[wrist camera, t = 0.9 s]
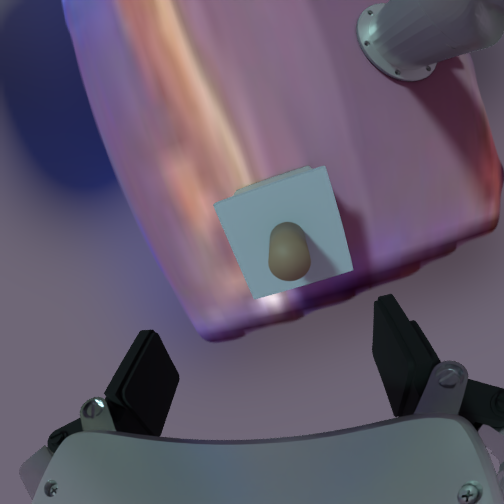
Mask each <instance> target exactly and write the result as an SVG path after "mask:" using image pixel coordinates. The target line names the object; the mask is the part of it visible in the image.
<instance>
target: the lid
mask: <svg viewBox="0 0 504 504" xmlns="http://www.w3.org/2000/svg"><path fill="white" fill-rule="evenodd" d="M213 206H214V208H215V210H216V213H217V215H218V217H219V220H220V222H221V224H222V227H223V229H224V231H225V234H226V236H227V238H228V241H229V243H230V245H231V248H232V250H233V252H234V255H235V257H236V259H237V262H238V264H239V266H240V268H241V271H242V273H243V275H244V278H245V280H246V282H247V284H248V287H249V289H250V291H251V293H252V296H253V298H254V299H258V298H261V297H265V296H269V295H272V294H276V293H279V292H283V291H286V290H290V289H293V288H297V287H300V286H304V285H307V284H310V283H314V282H317V281H320V280H324V279H327V278H330V277H333V276H337V275H340V274H343V273H346V272H349V271H352V270H353V266H352V262H351V257H350V253H349V249H348V245H347V241H346V237H345V233H344V229H343V225H342V222H341V218H340V214H339V211H338V207H337V204H336V200H335V197H334V193H333V190H332V187H331V183H330V180H329V177H328V174H327V170H326V167H325V166H321V167H318V168H315V169H312V170H308V171H305V172H302V173H299V174H296V175H293V176H290V177H287V178H284V179H281V180H278V181H275V182H272V183H269V184H266V185H263V186H260V187H257V188H254V189H252V190H249V191H246V192H243V193H240V194H238V195H235V196H232V197H229V198H227V199H224V200H221V201H219V202H216V203H215V204H214V205H213Z"/></svg>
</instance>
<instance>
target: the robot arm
mask: <svg viewBox="0 0 504 504" xmlns="http://www.w3.org/2000/svg"><path fill="white" fill-rule="evenodd" d="M503 32H504V0H390V1H389V2H388V3H387V4H386V3H381V4H375V5H372V6H370V7H368V8H367V9H366V10H364V11H363V13H362V14H361V15H360V17H359V19H358V22H357V26H356V34H357V38H358V42H359V44H360V47H361V49H362V50H363V52H364V54H365V55H366V57H367V58H368V59H369V60H370V62H371V63H372V64H374V65H375V66H376V67H377V68H378V69H379V70H381V71H382V72H383V73H385V74H387V75H389V76H390V77H392V78H395V79H398V80H402V81H418V80H421V79H424V78H426V77H428V76H429V75H430V74H431V73H432V72H433V71H434V69H435V67H436V65H437V62H440V61H443V60H446V59H449V58H453V57H456V56H459V55H463V54H466V53H470V52H473V51H477V50H481V49H484V48H488V47H490V46H493V45H494V44H496V43H497V42H498V41H499V40H500V38H501V37H502V35H503ZM365 44H366V45H367V46H365ZM395 72H396V73H397V75H396V74H395ZM372 352H373V357H374V360H375V362H376V365H377V367H378V370H379V373H380V376H381V378H382V381H383V384H384V387H385V390H386V393H387V396H388V399H389V402H390V404H391V408H392V411H393V414H394V416H395V417H397V416H399V417H398V418H393V419H389V420H384V421H380V422H375V423H371V424H366V425H362V426H357V427H352V428H347V429H341V430H335V431H330V432H323V433H317V434H309V435H302V436H294V437H282V438H270V439H254V440H198V439H197V440H196V439H180V438H167V437H160V435H161V433H162V430H163V427H164V424H165V421H166V417H167V414H168V412H169V409H170V406H171V403H172V400H173V397H174V394H175V391H176V388H177V385H178V382H179V374H178V372H177V370H176V368H175V366H174V364H173V362H172V360H171V359H170V357H169V354H168V353H167V351H166V349H165V347H164V345H163V343H162V340H161V338H160V336H159V335H158V333H155V331H154V330H142V331H140V332H139V334H138V335H137V337H136V339H135V340H134V342H133V344H132V345H131V347H130V349H129V351H128V352H127V354H126V356H125V357H124V359H123V361H122V362H121V364H120V366H119V368H118V370H117V371H116V373H115V375H114V376H113V378H112V380H111V382H110V384H109V385H108V387H107V389H106V391H105V393H104V394H105V395H106V398H105V399H103V398H101V397H94V398H91V399H89V400H87V401H86V402H85V403H84V404H83V406H82V407H81V410H80V418H79V419H77V420H75V421H73V422H71V423H69V424H67V425H65V426H63V427H61V428H59V429H57V430H55V431H54V432H53V433H52V434H51V435H50V437H49V439H48V447H46V446H45V445H44V446H43V447H42V448H41V449H40V450H38V451H37V452H36V453H35V454H34V455H32V456H31V457H30V458H29V459H28V460H26V461H25V462H24V463H23V464H22V465H21V467H20V472H19V474H20V477H21V479H22V481H23V483H24V485H25V487H26V489H27V491H28V493H29V495H30V497H31V499H32V500H33V501H32V504H504V389H503V388H499V387H495V386H492V385H488V384H485V383H481V382H478V381H474V380H470V379H468V373H467V370H466V369H465V367H464V366H463V365H462V364H460V363H458V362H455V361H444V362H440V360H439V358H438V356H437V354H436V353H435V351H434V349H433V348H432V346H431V344H430V343H429V341H428V340H427V338H426V337H425V335H424V333H423V332H422V330H421V328H420V327H419V325H418V324H417V322H416V321H414V320H413V321H409V320H408V318H407V316H406V315H405V313H404V312H403V310H402V308H401V307H400V305H399V304H398V302H397V301H396V299H395V298H394V296H393V295H392V294H389V295H384V296H380V297H378V301H375V302H374V325H373V346H372ZM486 447H488V448H489V449H490V450H492V452H491V454H493V455H494V456H496V458H497V459H498V460H499V463H500V468H499V472H498V474H496V471H495V469H494V466H493V463H492V461H491V458H490V456H489V453H488V451H487V449H486ZM461 487H462V488H461Z"/></svg>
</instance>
